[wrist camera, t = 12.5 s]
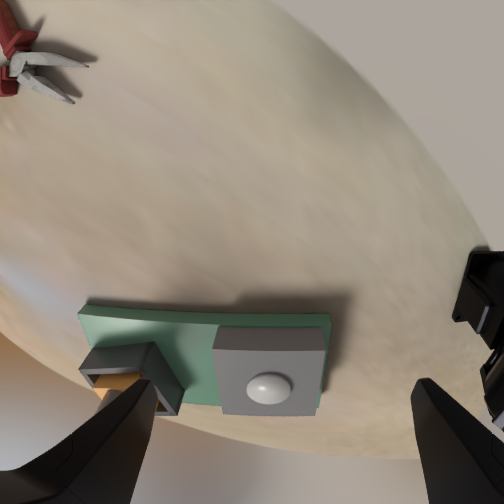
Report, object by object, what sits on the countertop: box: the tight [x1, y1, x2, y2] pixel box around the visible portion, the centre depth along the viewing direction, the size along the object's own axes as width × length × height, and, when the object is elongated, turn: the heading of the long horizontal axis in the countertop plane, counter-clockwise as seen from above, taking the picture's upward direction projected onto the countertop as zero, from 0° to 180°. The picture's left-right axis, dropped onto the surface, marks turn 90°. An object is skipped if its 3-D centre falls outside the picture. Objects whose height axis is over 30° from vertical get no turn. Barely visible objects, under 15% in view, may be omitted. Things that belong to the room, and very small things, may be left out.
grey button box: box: [212, 327, 326, 416], centre depth 23 cm, size 8×8×3 cm
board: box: [77, 305, 332, 408], centre depth 25 cm, size 21×10×2 cm, turn 92°
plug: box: [93, 372, 160, 414], centre depth 20 cm, size 4×4×12 cm
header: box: [78, 341, 185, 416], centre depth 24 cm, size 7×6×3 cm
